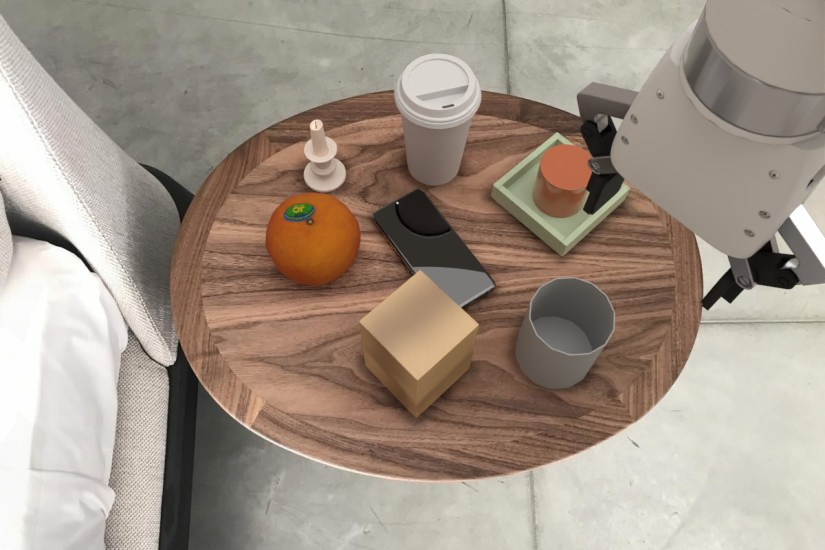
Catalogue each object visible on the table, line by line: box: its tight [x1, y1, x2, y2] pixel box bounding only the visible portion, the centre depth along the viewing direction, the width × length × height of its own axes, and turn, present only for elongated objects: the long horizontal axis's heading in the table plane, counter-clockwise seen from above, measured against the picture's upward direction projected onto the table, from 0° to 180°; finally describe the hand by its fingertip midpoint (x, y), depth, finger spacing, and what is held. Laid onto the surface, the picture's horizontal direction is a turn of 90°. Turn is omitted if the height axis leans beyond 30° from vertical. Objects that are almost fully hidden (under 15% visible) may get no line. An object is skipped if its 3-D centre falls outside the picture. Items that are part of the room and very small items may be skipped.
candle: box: [303, 119, 347, 194], centre depth 85 cm, size 5×5×10 cm
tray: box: [490, 131, 631, 258], centre depth 87 cm, size 12×12×3 cm
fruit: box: [265, 192, 362, 287], centre depth 81 cm, size 11×10×8 cm
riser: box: [358, 270, 480, 419], centre depth 73 cm, size 8×8×12 cm
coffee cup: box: [393, 53, 482, 187], centre depth 83 cm, size 10×10×15 cm
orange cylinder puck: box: [532, 144, 592, 218], centre depth 85 cm, size 6×6×6 cm
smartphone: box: [371, 188, 497, 310], centre depth 84 cm, size 7×1×16 cm
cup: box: [514, 276, 616, 390], centre depth 74 cm, size 8×8×10 cm
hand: (656, 246), depth 48 cm, fingers open, 9 cm apart
